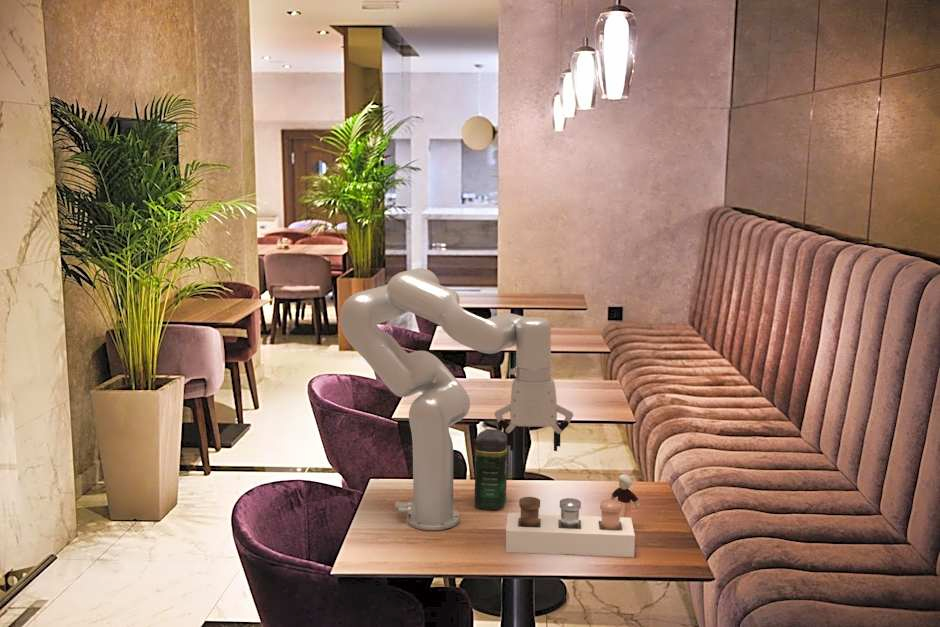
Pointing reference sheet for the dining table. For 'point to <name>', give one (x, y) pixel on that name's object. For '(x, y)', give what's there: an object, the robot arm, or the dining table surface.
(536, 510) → the walnut plug
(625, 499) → the grandmother figurine
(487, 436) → the coffee jar
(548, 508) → the dining table surface
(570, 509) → the grey plug
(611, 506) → the terracotta plug
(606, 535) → the socket strip
